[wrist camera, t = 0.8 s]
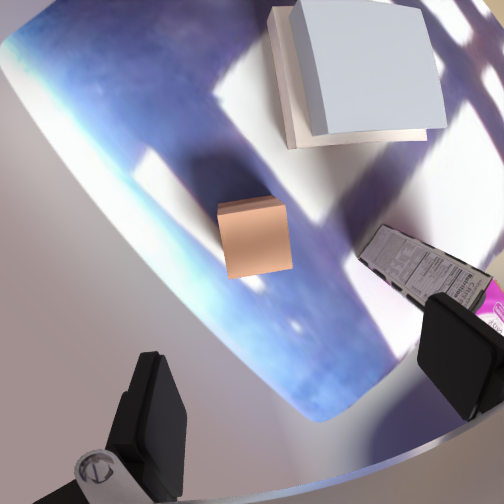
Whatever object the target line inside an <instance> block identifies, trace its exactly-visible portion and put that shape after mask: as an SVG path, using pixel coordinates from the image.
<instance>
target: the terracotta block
mask: <svg viewBox="0 0 504 504" xmlns="http://www.w3.org/2000/svg"><path fill="white" fill-rule="evenodd" d="M217 217H218V222H219V228H220V234H221V239H222V245H223V250H224V256H225V261H226V267H227V272H228V278H229V279H234V278H240V277H246V276H252V275H257V274H263V273H269V272H274V271H280V270H286V269H291V268H293V266H292V257H291V248H290V239H289V231H288V222H287V214H286V206H285V204H284V203H282V202H281V201H280V200H278V199H277V198H276V197H275V196H273V195H268V196H262V197H255V198H249V199H243V200H237V201H230V202H224V203H219V204H218V213H217Z"/></svg>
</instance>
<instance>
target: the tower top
mask: <svg viewBox="0 0 504 504" xmlns="http://www.w3.org/2000/svg"><path fill="white" fill-rule="evenodd" d="M289 21H290V25H291V30H292V34H293V38H294V42H295V47H296V51H297V56H298V61H299V65H300V70H301V75H302V80H303V85H304V90H305V96H306V101H307V106H308V112H309V118H310V124H311V129H312V136H322V135H332V134H342V133H354V132H368V131H384V130H407V129H433V128H447V121H446V114H445V108H444V102H443V96H442V90H441V85H440V80H439V76H438V71H437V67H436V62H435V58H434V54H433V50H432V46H431V43H430V39H429V35H428V32H427V29H426V25H425V22H424V19H423V16H422V13H421V10H420V9H417V8H412V7H407V6H401V5H395V4H389V3H382V2H375V1H367V0H297V2H296V4H295V6H294V7H293V9H292V11H291V13H290V15H289Z"/></svg>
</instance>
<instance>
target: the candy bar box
mask: <svg viewBox="0 0 504 504" xmlns="http://www.w3.org/2000/svg"><path fill="white" fill-rule="evenodd" d="M358 260H359V261H360V262H362V263H363V264H364V265H365V266H367V267H368V268H369V269H370V270H371V271H373V272H374V273H375V274H376V275H377V276H379V277H380V278H381V279H382V280H384V281H385V282H386V283H387V284H388V285H390V286H391V287H392V288H393V289H395V290H396V291H397V292H398V293H399V294H401V295H402V296H403V297H404V298H405V299H407V300H408V301H409V302H410V303H412V304H413V305H414V306H415V307H416V308H418V309H419V310H420V311H421V312H422V313H424V306H425V302H426V301H427V300H428V297H429V296H430V295H433V294H436V293H439V292H445V293H446V294H448V295H449V296H450V297H452V298H453V299H455V300H456V301H457V302H459V303H460V304H461V305H463V306H464V307H466V308H467V309H468V310H470V311H471V312H472V313H474V314H475V315H476V316H478V317H479V318H480V319H482V320H483V321H484V322H486V323H487V324H488V325H490V326H491V327H492V328H493V329H495V330H496V331H497V332H499V333H500V334H501V335H502V336H504V291H503V290H502V288H501V287H500V285H499V284H498V283H497V281H496V280H495V279H494V277H493V276H490V275H489V274H487V273H485V272H483V271H481V270H479V269H477V268H475V267H473V266H471V265H469V264H467V263H466V262H464V261H462V260H460V259H458V258H456V257H454V256H452V255H450V254H448V253H446V252H443V251H441V250H439V249H437V248H435V247H433V246H431V245H428V244H426V243H424V242H422V241H420V240H418V239H416V238H413V237H411V236H409V235H407V234H405V233H403V232H401V231H399V230H396V229H394V228H392V227H390V226H387V225H385V224H382V225H381V227H380V228H379V229H378V231H377V232H376V234H375V235H374V237H373V239H372V240H371V241H370V243H369V244H368V245H367V247H366V248H365V249H364V251H363V252H362V254H361V255H360V256H359V258H358Z"/></svg>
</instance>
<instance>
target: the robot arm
mask: <svg viewBox="0 0 504 504" xmlns="http://www.w3.org/2000/svg"><path fill="white" fill-rule="evenodd" d="M417 362H418V365H419V366H420V368H421V369H422V370H423V371H424V372H425V374H426V375H427V376H428V377H429V378H430V379H431V381H432V382H433V383H434V384H435V386H436V387H437V388H438V389H439V390H440V392H441V393H442V394H443V395H444V396H445V398H446V399H447V400H448V401H449V403H450V404H451V405H452V406H453V407H454V409H455V410H456V411H457V412H458V414H459V415H460V416H461V418H462V419H463V420H465V421H466V420H467V421H468V423H467V424H465V425H463V426H461V427H459V428H457V429H455V430H453V431H451V432H450V433H447V434H445V435H444V436H442V437H439V438H437V439H435V440H433V441H431V442H429V443H427V444H424V445H422V446H420V447H418V448H415V449H413V450H411V451H408V452H406V453H403V454H401V455H399V456H396V457H393V458H391V459H388V460H386V461H383V462H380V463H377V464H375V465H372V466H369V467H366V468H363V469H360V470H357V471H353V472H350V473H347V474H343V475H340V476H337V477H333V478H329V479H326V480H322V481H318V482H314V483H310V484H305V485H301V486H296V487H292V488H286V489H281V490H276V491H270V492H264V493H257V494H250V495H243V496H235V497H227V498H217V499H204V500H190V501H178V502H177V497H181V496H182V492H183V474H184V457H185V441H186V427H187V414H186V410H185V407H184V404H183V402H182V400H181V397H180V395H179V392H178V389H177V387H176V384H175V382H174V379H173V376H172V374H171V371H170V368H169V366H168V363H167V360H166V358H165V356H164V355H160V354H159V353H158V352H157V351H154V352H144V353H141V354H140V356H139V359H138V362H137V365H136V368H135V371H134V374H133V377H132V380H131V383H130V386H129V389H128V391H125V392H124V393H123V394H122V396H121V399H120V402H119V405H118V409H117V412H116V415H115V418H114V421H113V424H112V427H111V431H110V434H109V437H108V441H107V444H106V447H105V450H102V449H99V450H92V451H90V452H87V453H86V454H84V455H83V456H81V457H80V459H79V460H78V461H77V463H76V465H75V468H74V474H75V478H76V479H75V480H73V481H71V482H69V483H68V484H66V485H64V486H63V487H61V488H59V489H57V490H56V491H54V492H52V493H50V494H48V495H47V496H45V497H43V498H41V499H39V500H38V501H36V502H34V503H33V504H504V336H502V335H501V334H500V333H499V332H497V331H496V330H495V329H493V328H492V327H491V326H490V325H488V324H487V323H486V322H484V321H483V320H482V319H480V318H479V317H478V316H476V315H475V314H474V313H472V312H471V311H470V310H468V309H467V308H466V307H464V306H463V305H461V304H460V303H459V302H457V301H456V300H455V299H453V298H452V297H450V296H449V295H448V294H446V293H445V292H439V293H436V294H433V295H430V296H429V297H428V300H427V301H426V302H425V306H424V315H423V323H422V330H421V337H420V344H419V350H418V356H417Z"/></svg>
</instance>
